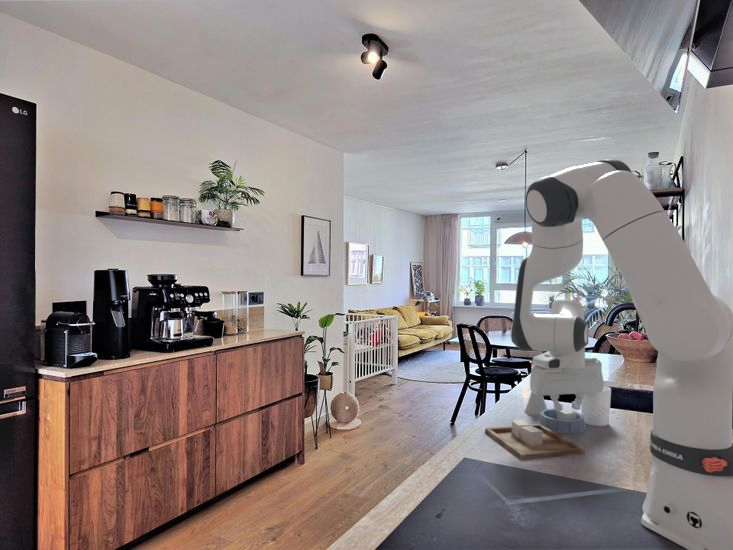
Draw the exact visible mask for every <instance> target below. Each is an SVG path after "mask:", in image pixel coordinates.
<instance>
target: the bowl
mask: <svg viewBox="0 0 733 550" xmlns="http://www.w3.org/2000/svg"><path fill="white" fill-rule="evenodd" d="M575 412H576V418H577V420H559V419H557V411H556V410H555V409H554V408H547V409H544V410H542V411H540V416H539V424H541V425H543V426H545V427H547V428H548V429H550V430H552V431H554V432H555V433H562V434H577V433H578V434H579V433H582V432H583V431H585V423H584V416H583V415H582V413H580V412H577V411H575Z"/></svg>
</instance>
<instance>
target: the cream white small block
mask: <svg viewBox="0 0 733 550" xmlns="http://www.w3.org/2000/svg"><path fill="white" fill-rule="evenodd" d="M521 440H522V441H524V442H526V443H528V444H530V445H531V446H533V445H540V444H543V431H542V430H540V429H537V428H535V427H533V426H527V427H521Z"/></svg>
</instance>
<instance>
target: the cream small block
mask: <svg viewBox="0 0 733 550" xmlns="http://www.w3.org/2000/svg"><path fill="white" fill-rule="evenodd" d="M531 425H532V424H530V423H528V422H527V421H526V420H524V419H513V420H512V419H511V426H512V433H513V434H514V435H515V436H517V437H518V438H521V427H527V426H531Z"/></svg>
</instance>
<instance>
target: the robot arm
mask: <svg viewBox="0 0 733 550" xmlns="http://www.w3.org/2000/svg"><path fill="white" fill-rule="evenodd" d="M524 201H525V209H526V211H527V214H528V215H529V217H530V218H531V240H532V241H531V244H532V247H531V251H530V253H529V256H528V257H526V258H523V259H522V261H521V264H520V266H519V270H518V274H517V280H516V281H517V283H516V290H515V291H516V292H515V298H514V299H515V302H514V310H513V319H512V323H511V326H510V339H511V342H512V343H513V345H514V346H515V347H516V348H518V349H519V350H520V351H522V352H535V351H539V352H540V351H541V352H543V353H540V354H538V355H535V356H534V357H533V358H532V364H533V365H534V366H533V367H532V368H531V370H530V379H529V380H530V382H529V389H530V391H532V392H533V393H534V394H536V395H538V396H543V397H544V396H549V397H550V400H551V401H552V403H553V409H555V410H556V411H562V410H563V409H564V408H563V407H564V406H563V405H564V404H562V403H561V402H559V398H560V395H574V396H576V397H575V399H574V400H573V401H571V409H572V410H574V411H577V410H581V402H582V400H583V398H584V393H596V392H602V390H603V388H604V386H605V384H604V377H603V371H602V370H603V369H602V367H603V365H602V362H601V361H600V360H599V359H598V358H597V357H592V358H589V357H586V346H587V345H589V323H588V322H587V321H585V314H584V307H583V303H581V302H580V301H577V300H571V299H557V300H553V302H552V304H551V307H550V308H551V309H550V314H549V313H548V314H547V313H535V312H533V311H532V304H533V297H534V296H533V294H534V289H535V288H536V287H537V286H539V285H541V284H544V283H545V282H547V281H551V280H554V279H558V278H561V277H563V276H565V275H567V274H568V273H570V272H572V270H574V269H576V268H577V267H578V265H579V264H580V262H581V260H582V258H583V253H584V252H583V251H584V234H583V220H587V219H588V220H590V222H592V223H593V225H594V227H595V229H596V231H597V233H598V235H599V237H600V238H601V240H602V241H603V244H604V246H605V247H606V249H607V251H608V253H609V254H610V257H611V258H612V261H613V262H614V264H615V265H616V267H617V269H618V270H619V273H620V274H621V276H622V278H623V280H624V283H625V284H626V287H627V290H628V292H629V295H630V298H631V300H632V303H633V305H634V307H635V308H634V309H636V312H637V315H638V317H639V319H640V321H641V323H642V326H643V328H644V331H645V334H646V337H647V338H648V341H649V342H650V345H651V346H652V347H653V348H654V350H656V351H657V352H658V353H657V361H656V369H655V377H654V381H653V382H654V383H653V389H652V390H653V391H652V392H653V393H652V399H653V401H652V402H653V403H652V405H653V407H652V409H653V410H652V411H653V413H652V418H653V419H652V420H653V421H652V425H653V426H652V429H651V431H650V434H649V435H650V438H649V452H650V453H651V454H652V455H651V457H652V460H651V465H650V471H649V475H648V483H647V490H646V493H645V494H646V495H645V498H644V502H643V504H642V512H643V513H642V515H641V521H640V522H641V524H642V526H644V527H645V528H648V529H649V530H651V531H653V532H655V533H656V534H658V535H661V536H662V537H664V538H666V539H668V540H670V541H672V542H674V543H675V544H677V545H679V546H681V547H683V548H685V549H686V550H733V311H732V310H731V308H730V306H729V305H728V304H727V303H726V302H725V301H724V300H722V299H721V298H719V297H718V296H716V295H714V294H713V293H712V291H711V290H710V287H709V286H708V283H707V282H706V281H705V278H704V277H703V274H702V273H701V270H700V269H699V267H698V266H697V263H696V261H695V260H694V257H693V255H692V252H691V251H690V249H689V247H688V246H687V245H686V243H685V241H684V239H683V238H682V236H681V234H680V233H679V232H678V230H677V228H676V227H675V225H674V223H673V222H672V220H671V218H670V217H669V215H668V214H667V211H665V209H664V208H663V207H664V206H662V205H661V202H659V201H658V199H657V198H656V196H655V195H654V194H653V192H652V191H651V190H650V189H649V187H647V185H646V184H645V183H644V182H643V181H642V180H641V179H640V178H639V177H638V176H637V175H636V174H634V173H633V172H632V170H631V169H630V167H629V166H628V164H626V163H625V162H623V161H621V160H618V159H602V160H597V161H596V162H591V163H588V164H583V165H578V166H571V167H569V168H565V169H563V170H560V171H557V172H555V173H553V174H550V175H546V176H545V175H544V176H542V177H540V178H538V179H537V180H535V181H534V182H532V183H531V184H530V185H529V186H528V187H527V190H526V193H525V200H524Z"/></svg>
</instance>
